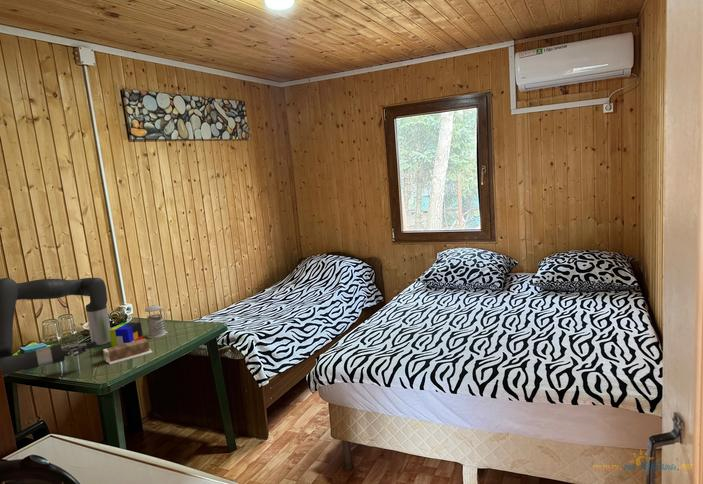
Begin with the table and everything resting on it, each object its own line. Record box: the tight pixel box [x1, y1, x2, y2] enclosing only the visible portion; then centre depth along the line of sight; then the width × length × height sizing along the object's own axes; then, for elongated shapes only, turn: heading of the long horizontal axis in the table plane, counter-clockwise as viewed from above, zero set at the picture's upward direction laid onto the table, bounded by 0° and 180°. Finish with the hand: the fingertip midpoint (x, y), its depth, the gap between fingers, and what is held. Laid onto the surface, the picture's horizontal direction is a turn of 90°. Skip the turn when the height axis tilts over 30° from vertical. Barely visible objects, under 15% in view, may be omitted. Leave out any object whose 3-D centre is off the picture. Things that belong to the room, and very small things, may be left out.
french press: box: [144, 286, 168, 339], centre depth 245 cm, size 10×12×25 cm
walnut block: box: [102, 338, 151, 363], centre depth 218 cm, size 4×6×18 cm
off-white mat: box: [107, 347, 153, 366], centre depth 219 cm, size 18×12×1 cm, turn 126°
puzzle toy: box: [109, 321, 144, 347], centre depth 232 cm, size 10×10×10 cm
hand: (96, 343), depth 211 cm, fingers closed
